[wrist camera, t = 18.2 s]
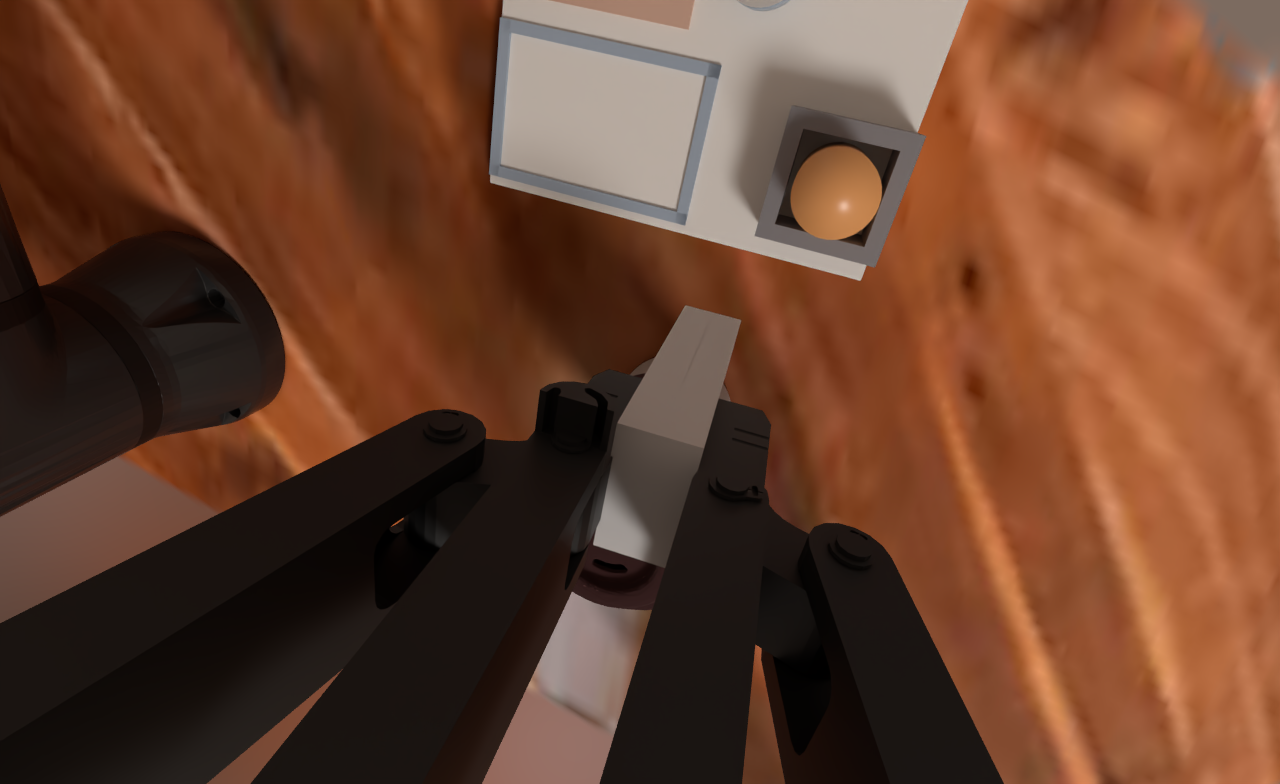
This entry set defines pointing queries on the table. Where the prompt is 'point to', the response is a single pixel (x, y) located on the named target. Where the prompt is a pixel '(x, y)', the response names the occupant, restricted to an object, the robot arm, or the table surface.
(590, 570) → the coffee cup
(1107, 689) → the table surface
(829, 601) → the robot arm
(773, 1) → the cylinder
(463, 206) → the table surface
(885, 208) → the sheet board
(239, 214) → the table surface
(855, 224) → the button
